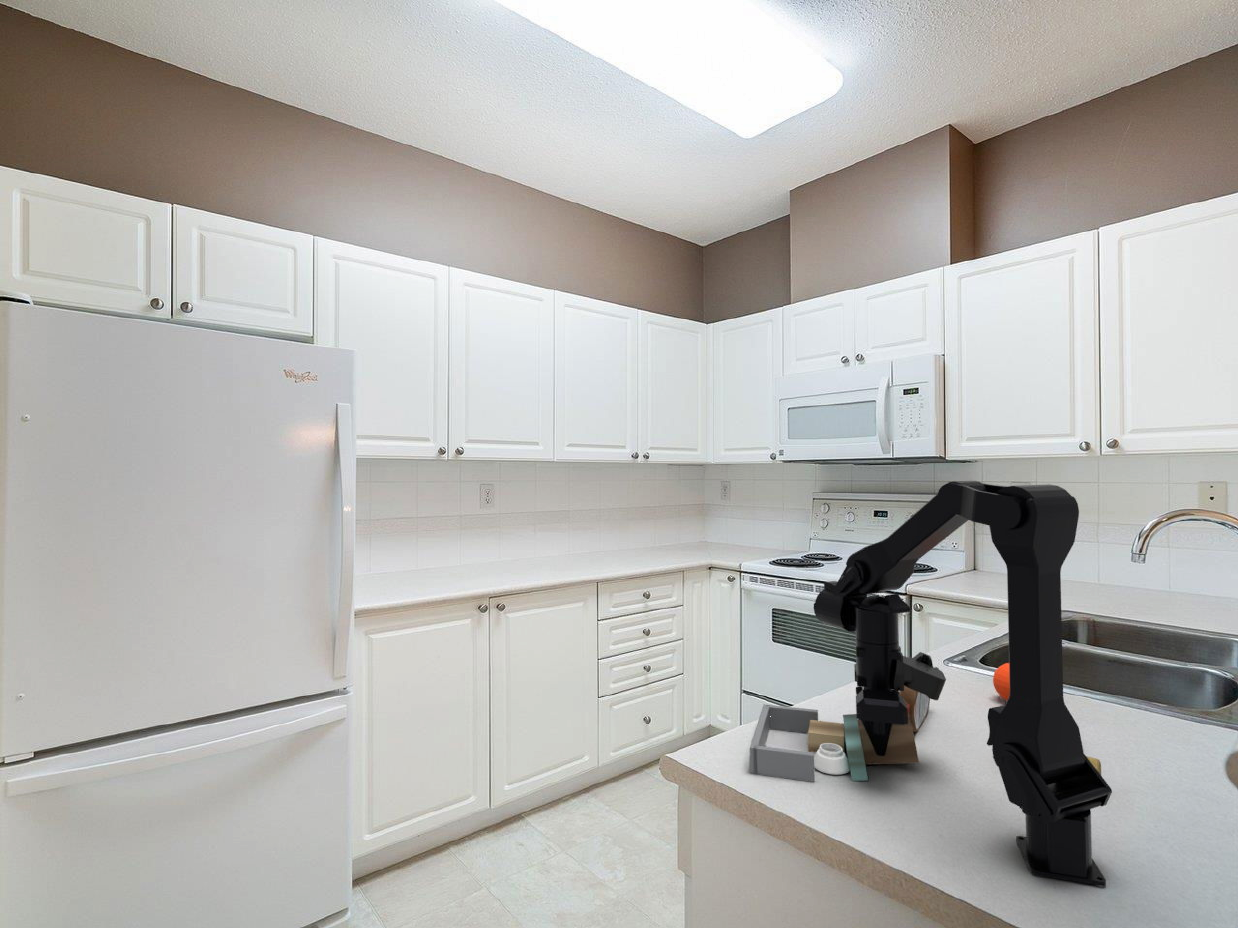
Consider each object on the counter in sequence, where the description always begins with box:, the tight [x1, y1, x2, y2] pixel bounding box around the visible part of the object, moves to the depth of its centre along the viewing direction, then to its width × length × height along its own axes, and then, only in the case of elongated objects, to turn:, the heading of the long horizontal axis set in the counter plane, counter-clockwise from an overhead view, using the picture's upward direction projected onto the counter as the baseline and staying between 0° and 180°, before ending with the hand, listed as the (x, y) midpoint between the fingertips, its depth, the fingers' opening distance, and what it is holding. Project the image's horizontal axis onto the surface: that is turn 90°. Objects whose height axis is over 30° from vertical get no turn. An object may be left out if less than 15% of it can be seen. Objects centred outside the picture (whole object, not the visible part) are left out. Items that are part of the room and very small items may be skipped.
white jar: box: [814, 743, 851, 776], centre depth 89 cm, size 5×3×5 cm
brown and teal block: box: [842, 713, 920, 782], centre depth 90 cm, size 13×9×5 cm
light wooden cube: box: [807, 720, 846, 754], centre depth 96 cm, size 5×5×3 cm
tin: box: [899, 686, 931, 733], centre depth 104 cm, size 15×3×8 cm, turn 145°
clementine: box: [992, 662, 1010, 702], centre depth 111 cm, size 8×7×7 cm
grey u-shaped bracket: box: [749, 704, 819, 783], centre depth 94 cm, size 17×8×4 cm, turn 161°
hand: (880, 749), depth 90 cm, fingers closed on brown and teal block, 4 cm apart
